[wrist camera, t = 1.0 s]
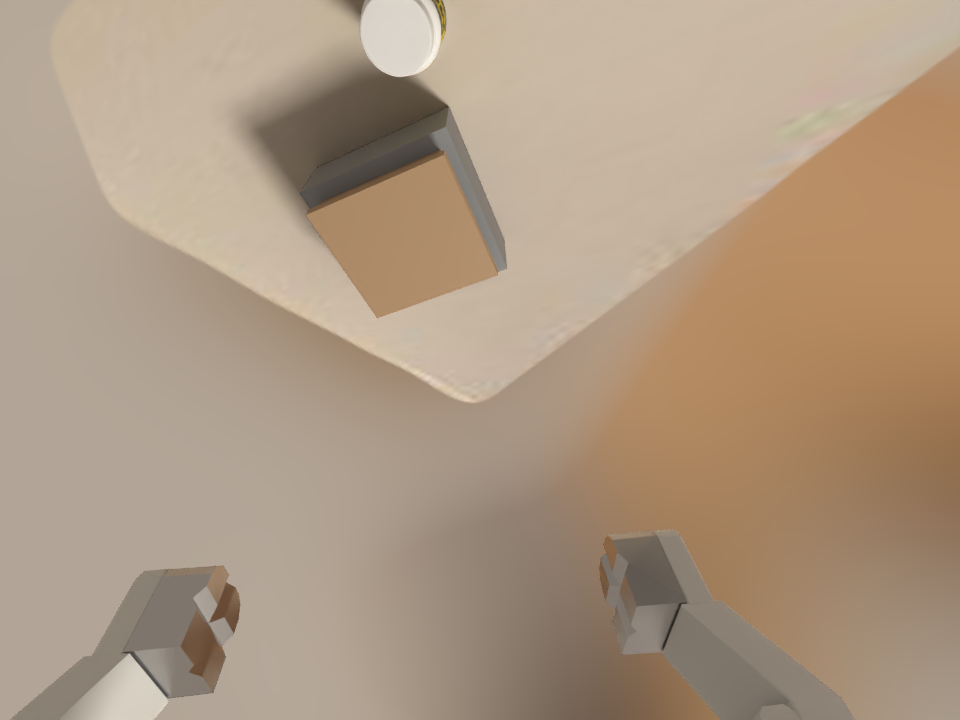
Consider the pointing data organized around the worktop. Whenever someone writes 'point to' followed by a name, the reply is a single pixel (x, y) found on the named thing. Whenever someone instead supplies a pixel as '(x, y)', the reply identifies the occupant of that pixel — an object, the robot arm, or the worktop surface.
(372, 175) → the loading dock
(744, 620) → the robot arm
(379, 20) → the supplement bottle
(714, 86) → the worktop surface
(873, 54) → the worktop surface
